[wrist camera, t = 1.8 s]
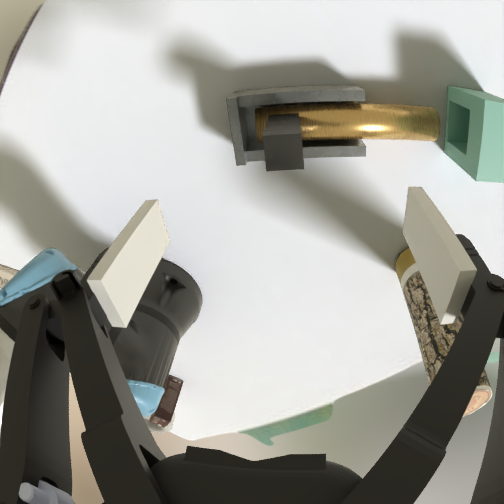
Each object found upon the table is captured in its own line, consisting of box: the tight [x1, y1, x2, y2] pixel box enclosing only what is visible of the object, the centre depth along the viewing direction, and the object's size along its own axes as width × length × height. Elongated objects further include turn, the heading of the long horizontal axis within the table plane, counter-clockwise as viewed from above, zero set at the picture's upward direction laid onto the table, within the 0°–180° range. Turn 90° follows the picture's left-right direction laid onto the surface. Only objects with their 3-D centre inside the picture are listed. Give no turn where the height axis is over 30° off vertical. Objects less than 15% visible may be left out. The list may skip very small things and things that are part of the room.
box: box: [149, 375, 183, 428], centre depth 69 cm, size 6×4×12 cm
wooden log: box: [395, 248, 492, 416], centre depth 35 cm, size 7×7×25 cm
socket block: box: [444, 86, 504, 183], centre depth 28 cm, size 6×9×9 cm, turn 7°
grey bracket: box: [226, 85, 366, 166], centre depth 32 cm, size 14×7×6 cm, turn 97°
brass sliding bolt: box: [255, 103, 440, 171], centre depth 28 cm, size 20×4×12 cm, turn 97°
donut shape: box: [143, 413, 175, 433], centre depth 83 cm, size 15×15×7 cm
